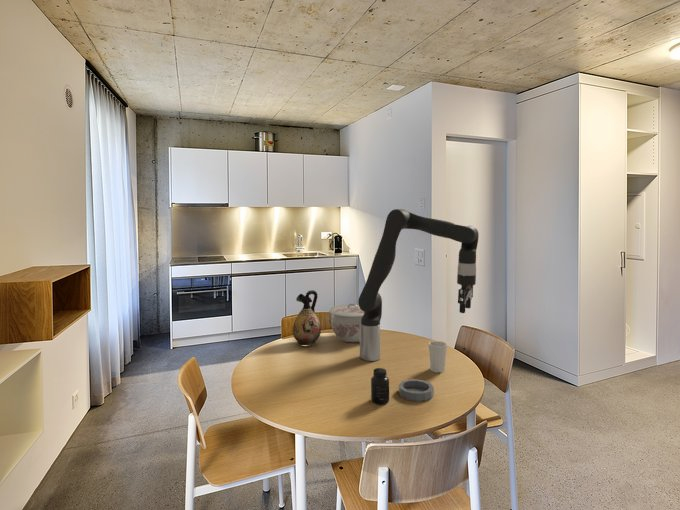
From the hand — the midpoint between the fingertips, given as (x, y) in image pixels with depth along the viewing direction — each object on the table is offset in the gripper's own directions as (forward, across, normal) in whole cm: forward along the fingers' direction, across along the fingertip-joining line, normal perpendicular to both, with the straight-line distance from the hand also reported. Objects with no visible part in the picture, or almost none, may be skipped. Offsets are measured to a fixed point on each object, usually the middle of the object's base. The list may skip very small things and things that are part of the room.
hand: (465, 310), depth 168 cm
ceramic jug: (+32, +1, -84) cm, 90 cm away
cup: (+29, +1, -11) cm, 31 cm away
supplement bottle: (+28, +42, -19) cm, 54 cm away
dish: (+28, +29, -10) cm, 42 cm away
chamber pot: (+32, -19, -67) cm, 77 cm away
